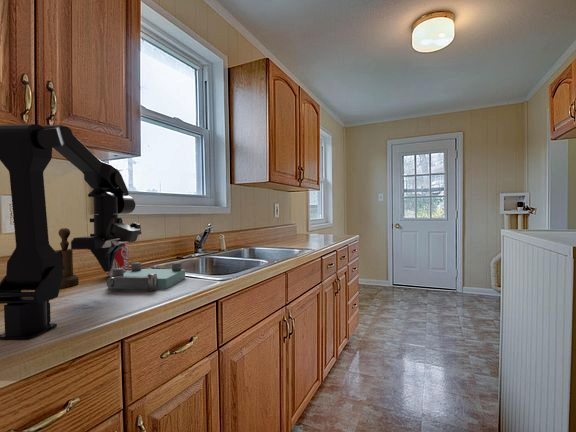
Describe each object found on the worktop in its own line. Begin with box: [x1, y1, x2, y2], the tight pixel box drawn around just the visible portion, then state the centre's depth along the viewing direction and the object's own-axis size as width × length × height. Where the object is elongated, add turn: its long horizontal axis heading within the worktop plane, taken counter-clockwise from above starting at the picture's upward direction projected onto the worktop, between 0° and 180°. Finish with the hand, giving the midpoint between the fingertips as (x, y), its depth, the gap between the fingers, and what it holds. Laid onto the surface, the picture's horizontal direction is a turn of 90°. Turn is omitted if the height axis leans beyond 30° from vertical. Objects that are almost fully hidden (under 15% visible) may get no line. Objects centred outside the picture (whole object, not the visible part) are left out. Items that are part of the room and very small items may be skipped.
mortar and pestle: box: [57, 227, 79, 289], centre depth 96 cm, size 7×6×18 cm
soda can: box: [106, 241, 130, 278], centre depth 109 cm, size 7×7×12 cm
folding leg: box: [106, 273, 158, 292], centre depth 88 cm, size 14×3×4 cm, turn 87°
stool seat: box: [107, 261, 186, 290], centre depth 98 cm, size 14×18×6 cm
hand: (107, 271), depth 83 cm, fingers closed
